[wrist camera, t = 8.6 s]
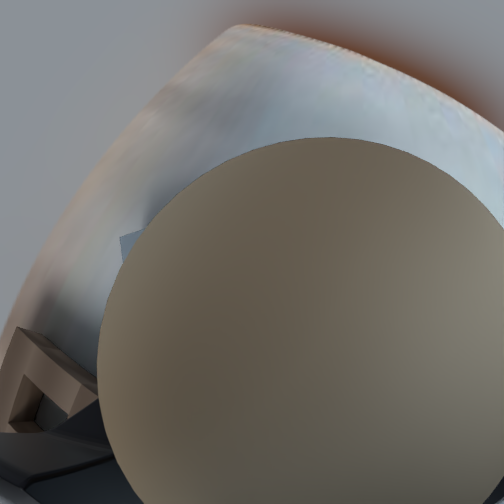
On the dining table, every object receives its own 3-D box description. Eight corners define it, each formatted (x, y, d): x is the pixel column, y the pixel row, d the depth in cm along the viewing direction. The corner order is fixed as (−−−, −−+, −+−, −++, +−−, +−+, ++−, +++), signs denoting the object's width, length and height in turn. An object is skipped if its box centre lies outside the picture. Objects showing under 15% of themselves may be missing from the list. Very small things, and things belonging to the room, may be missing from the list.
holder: (132, 402, 17) (111, 406, 14) (91, 496, 14) (69, 508, 11) (41, 334, 18) (16, 326, 15) (9, 423, 15) (-16, 424, 12)
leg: (357, 354, 15) (567, 275, 3) (296, 443, 13) (390, 613, 1) (269, 298, 16) (283, 82, 4) (206, 383, 14) (17, 393, 2)
